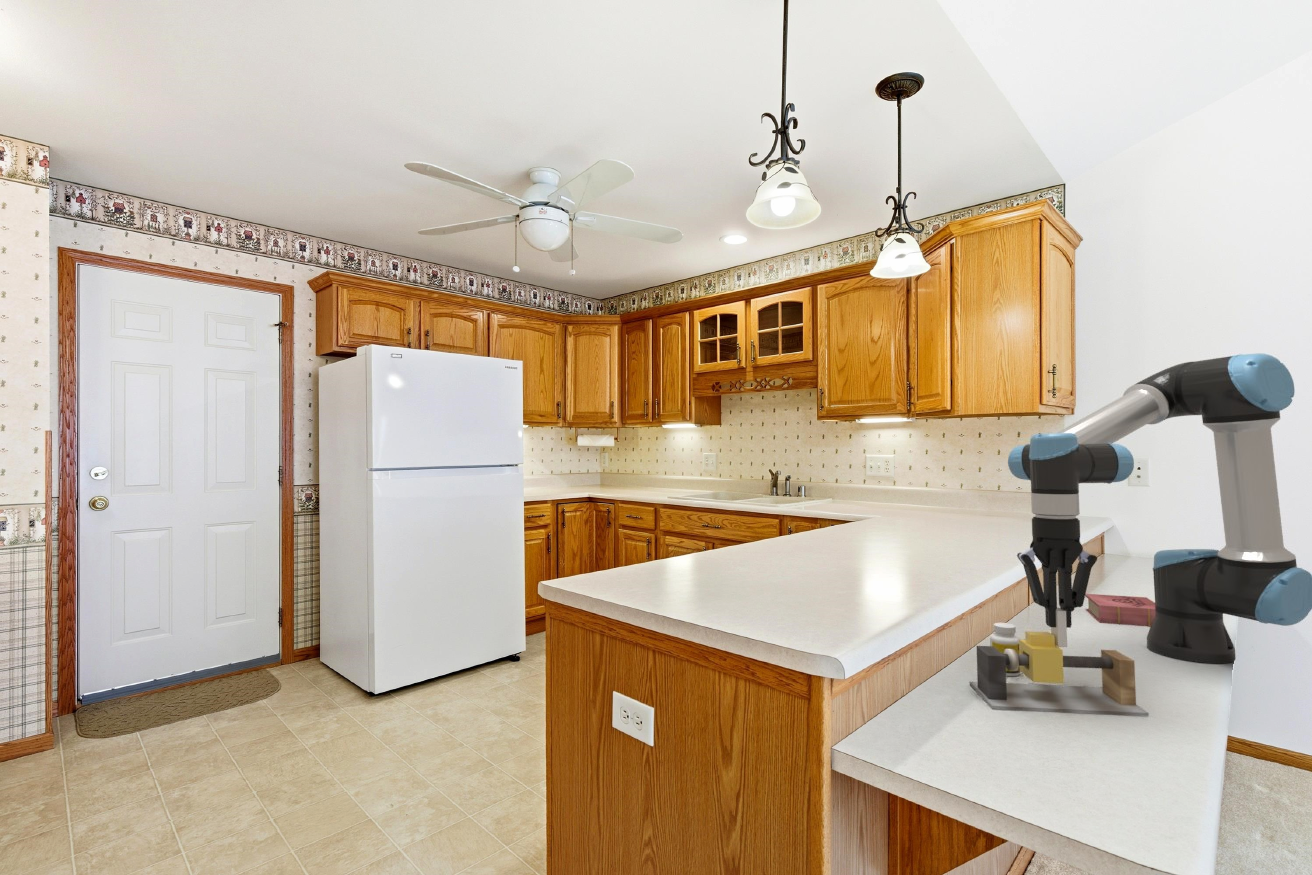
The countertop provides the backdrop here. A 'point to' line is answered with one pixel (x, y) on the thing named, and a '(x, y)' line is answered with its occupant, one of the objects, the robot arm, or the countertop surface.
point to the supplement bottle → (1005, 641)
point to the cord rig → (1107, 699)
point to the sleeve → (1042, 657)
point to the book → (1121, 609)
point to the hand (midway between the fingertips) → (1059, 644)
